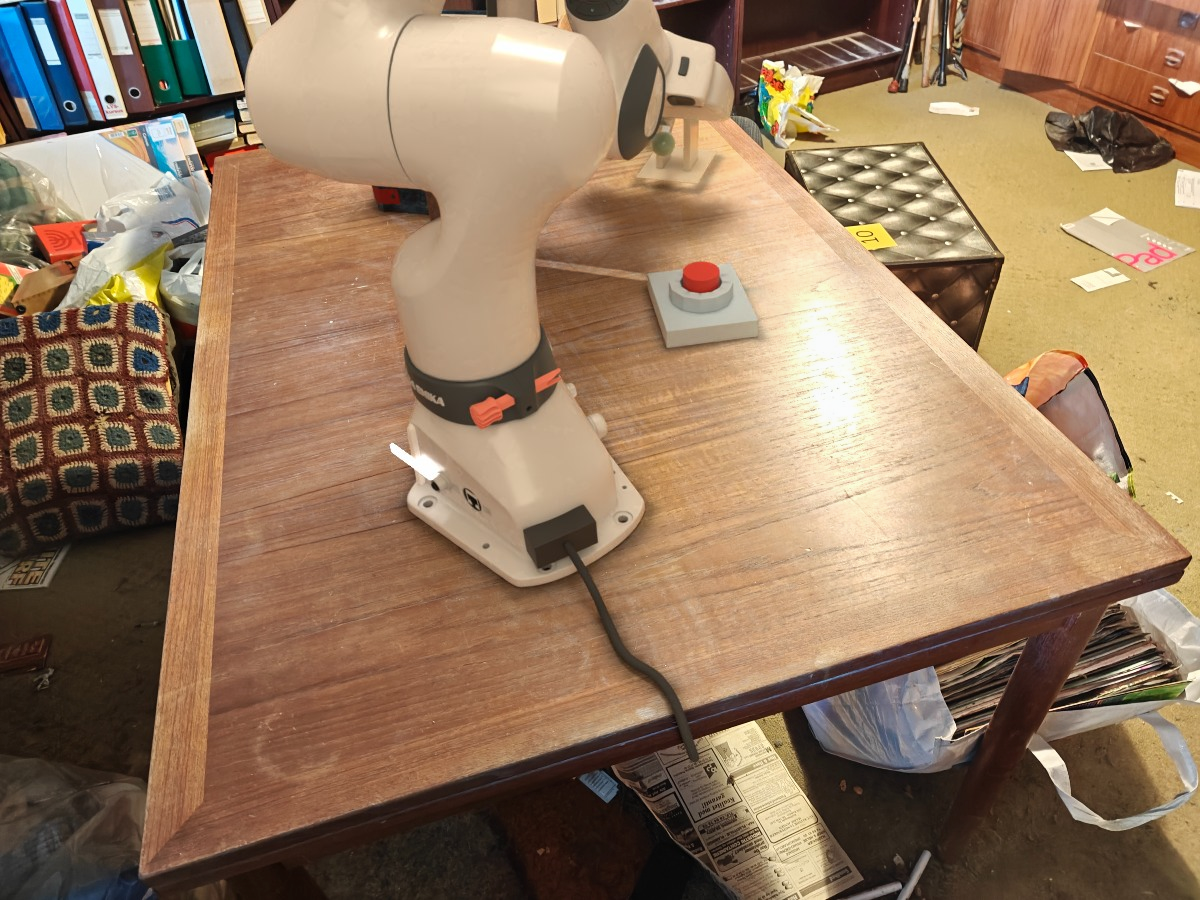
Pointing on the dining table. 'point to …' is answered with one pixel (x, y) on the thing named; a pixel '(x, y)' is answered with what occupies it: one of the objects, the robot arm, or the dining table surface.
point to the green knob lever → (663, 141)
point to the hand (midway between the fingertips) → (662, 120)
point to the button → (701, 277)
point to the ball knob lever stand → (680, 159)
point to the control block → (701, 309)
